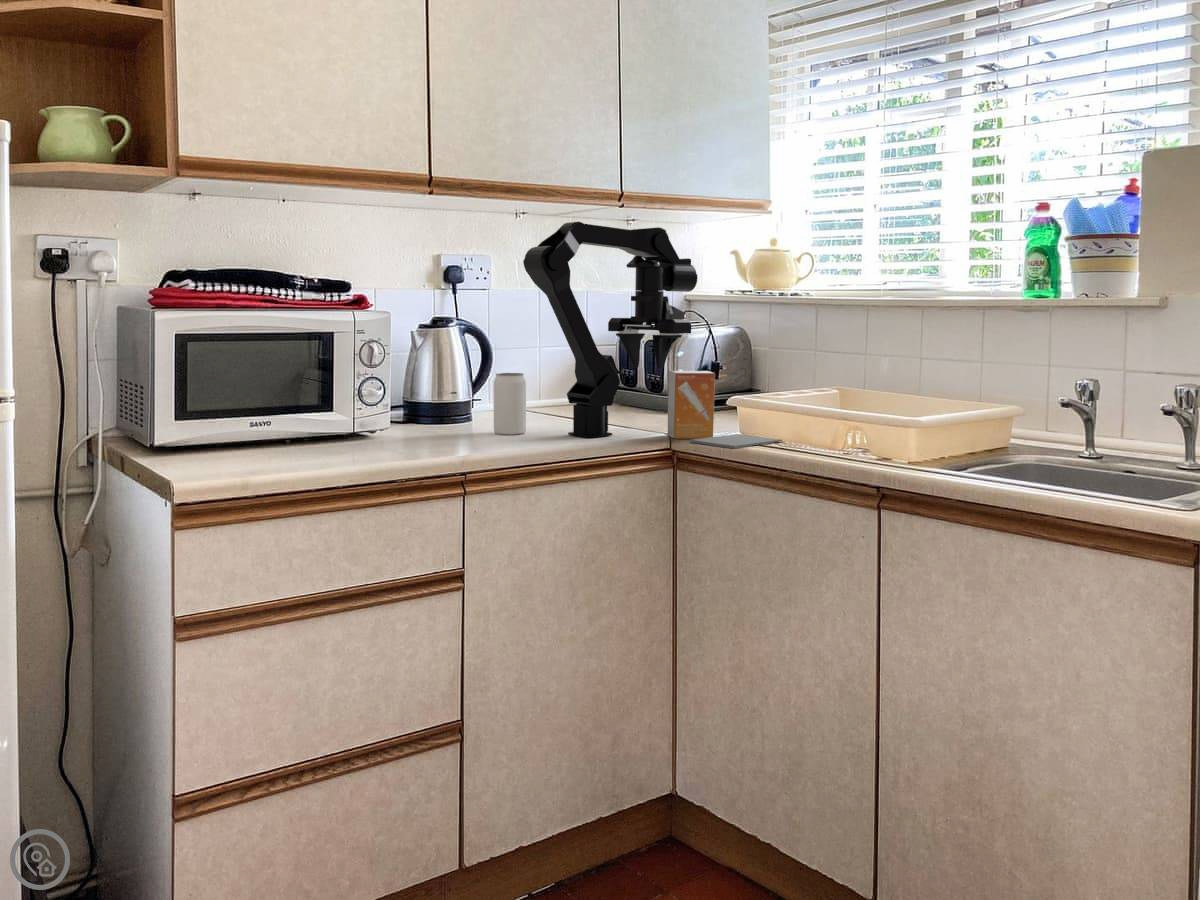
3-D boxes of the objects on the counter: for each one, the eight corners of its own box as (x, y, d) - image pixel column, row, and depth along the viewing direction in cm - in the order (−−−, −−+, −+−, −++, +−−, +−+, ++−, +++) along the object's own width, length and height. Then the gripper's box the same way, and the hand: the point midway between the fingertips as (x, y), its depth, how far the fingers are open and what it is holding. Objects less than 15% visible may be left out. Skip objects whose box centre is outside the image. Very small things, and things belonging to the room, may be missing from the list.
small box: (673, 439, 207) (674, 372, 206) (666, 435, 214) (668, 370, 212) (714, 439, 209) (715, 372, 207) (706, 435, 215) (707, 370, 213)
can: (532, 433, 215) (532, 373, 213) (508, 436, 210) (508, 375, 208) (511, 430, 219) (510, 372, 217) (487, 433, 214) (486, 373, 213)
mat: (734, 448, 195) (734, 445, 195) (690, 442, 203) (690, 439, 203) (782, 442, 204) (782, 439, 204) (737, 436, 212) (737, 434, 212)
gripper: (710, 291, 215) (708, 369, 217) (644, 291, 228) (643, 364, 230) (672, 290, 207) (670, 371, 209) (606, 290, 221) (605, 366, 223)
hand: (648, 368), depth 218 cm, fingers open, 7 cm apart
